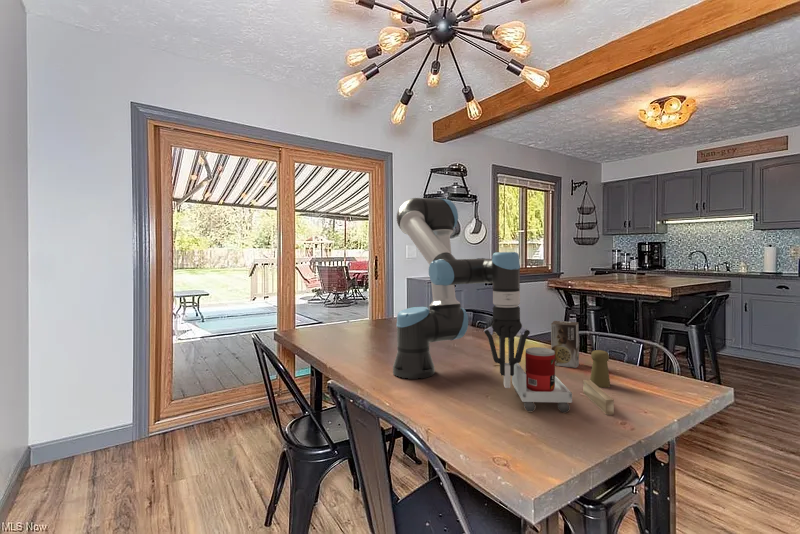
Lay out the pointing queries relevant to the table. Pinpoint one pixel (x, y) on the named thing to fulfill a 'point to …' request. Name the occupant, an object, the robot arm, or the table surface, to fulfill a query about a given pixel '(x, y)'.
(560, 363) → the coffee box
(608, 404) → the bar
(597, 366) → the cork
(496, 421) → the table surface
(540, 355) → the canned food
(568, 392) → the cart
